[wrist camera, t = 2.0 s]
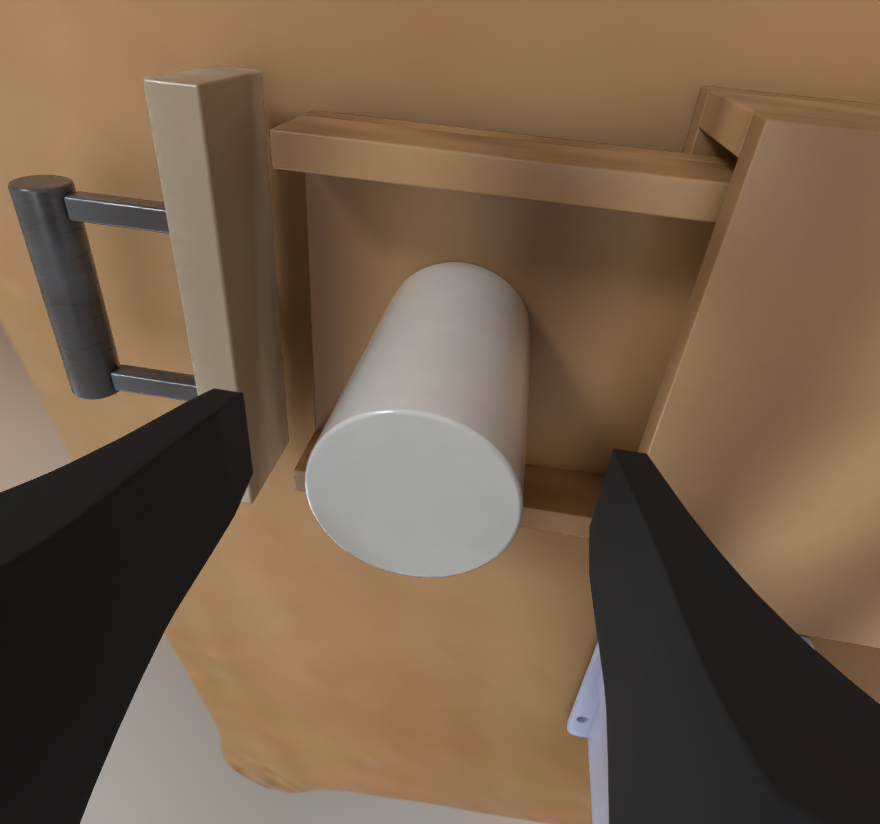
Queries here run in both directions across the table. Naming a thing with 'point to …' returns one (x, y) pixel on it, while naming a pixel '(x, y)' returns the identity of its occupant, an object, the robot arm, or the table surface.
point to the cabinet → (785, 360)
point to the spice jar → (430, 429)
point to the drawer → (393, 264)
